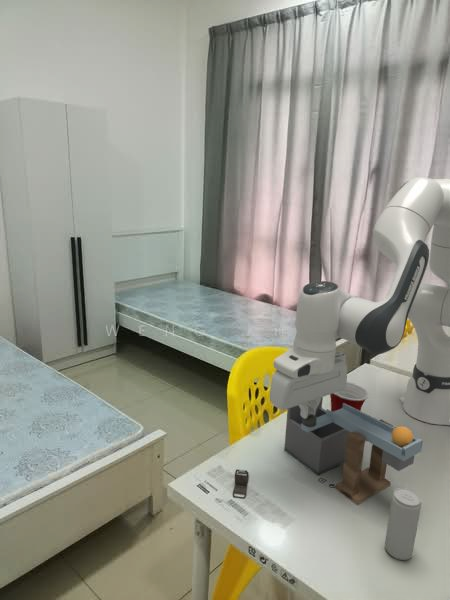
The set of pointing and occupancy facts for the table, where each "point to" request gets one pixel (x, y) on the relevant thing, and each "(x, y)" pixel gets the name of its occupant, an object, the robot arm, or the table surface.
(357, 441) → the stand
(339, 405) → the plastic cup
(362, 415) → the lever
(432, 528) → the table surface
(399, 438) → the ball
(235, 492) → the grey hinged case
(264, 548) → the table surface
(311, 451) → the bin
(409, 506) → the beverage can
